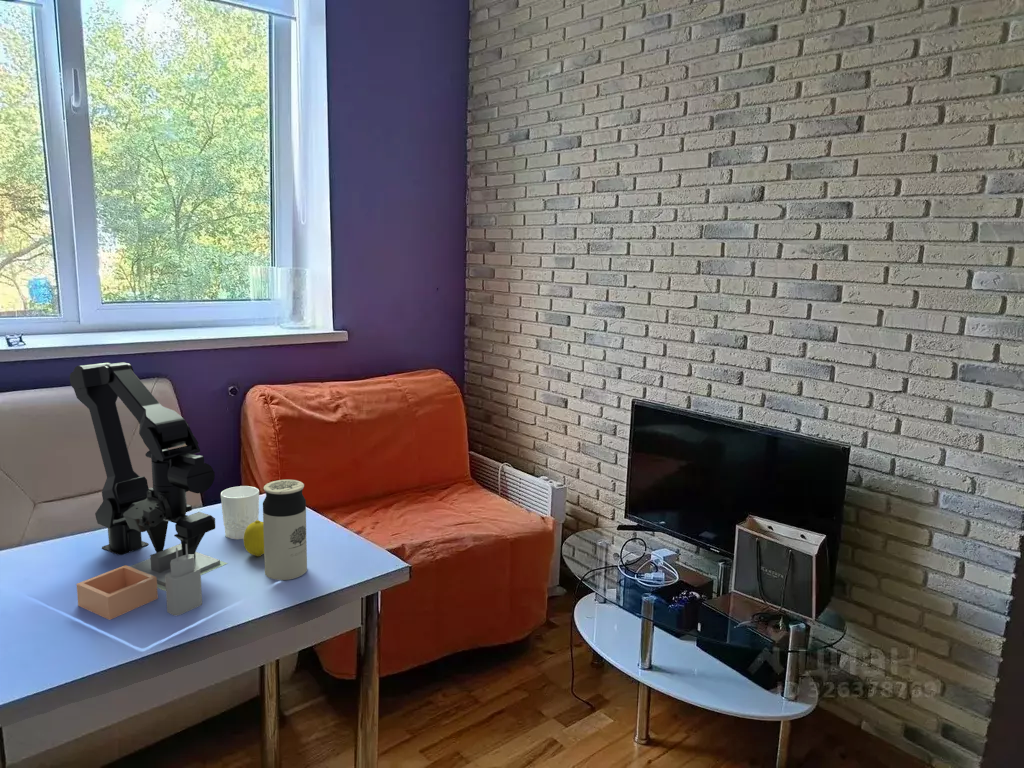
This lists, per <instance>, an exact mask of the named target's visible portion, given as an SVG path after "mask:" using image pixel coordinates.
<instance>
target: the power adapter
mask: <svg viewBox="0 0 1024 768" xmlns="http://www.w3.org/2000/svg"><path fill="white" fill-rule="evenodd" d="M170 565H171V572H170V573H167V574H166V575H165V581H166V591H165V596H166V613H168V614H170V615H172V616H175V617H178V616H182V615H183V614H185V613H187V612H190V611H191V610H194V609H197V608H199V607H201V606H202V605H203V595H202V575H201V571H200V567H197V566H195V565H194V554H188V549H187V544H186V555H183V556H181V557H178V548H177V547H176V558H175V559H173V560H171V562H170Z"/></svg>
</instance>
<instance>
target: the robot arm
mask: <svg viewBox="0 0 1024 768" xmlns="http://www.w3.org/2000/svg"><path fill="white" fill-rule="evenodd" d="M69 382H70V386H71V388H73V391H74V394H75V396H76V399H78V401H80V402H81V403H82V404H83V405H84V406H85V407H86V408H87V409H88V410H89V414H90V417H91V421H92V425H93V429H94V432H95V437H96V439H97V440H96V441H97V444H98V449H99V451H100V455H101V459H102V464H103V467H104V471H105V474H106V475H105V476H106V479H105V482H104V485H103V487H102V490H101V496H102V502H101V504H100V506H99V507H98V508H97V509H96V511H95V514H94V515H95V519H96V523H97V524H98V525H101V526H102V527H105V528H107V536H108V538H107V539H108V544H107V545H103V546H101V550H104V551H107V552H110V553H113V554H116V555H118V556H124V555H126V554H129V553H131V552H134V551H136V550H139V549H142V548H145V547H147V546H149V543H148V542H146V541H143V540H142V537H143V536H142V533H144V532H146V533H147V535H148V537H149V539H150V541H151V544H152V546H153V549H154V550H155V553H157V552H160V551H163V550H165V549H164V548H165V543H166V539H167V532H168V525H169V522H171V523H174V527H175V532H176V533H175V534H174V535H173V536H174V537H175V538H177V539H178V540H180V544H181V546H182V553H183V555H186V544H187V549H188V554H195V552H197V549H198V547H199V545H200V543H201V541H202V539H203V538H204V536H205V534H206V533H209V532H210V531H213V530H215V529H216V518H215V517H214V516H213V515H210V514H209V513H208V514H207V513H205V512H201V511H198V512H194V513H192V514H189V515H187V513H188V512H190V511H193V507H192V505H191V504H188V503H187V500H188V499H187V492H191V493H193V494H203V493H205V492H207V491H208V490H209V489H210V488H211V487H212V485H213V484H214V481H215V477H216V475H215V470H214V468H213V467H212V466H211V465H210V464H209V463H207V462H205V457H204V456H203V455H200V454H199V453H200V452H201V449H200V447H199V441H198V440H197V438H196V436H195V435H194V433H193V431H192V429H191V427H190V425H189V424H188V423H187V421H186V419H184V417H182V416H181V415H180V414H179V413H178V412H176V410H174V409H171V408H168V407H166V406H163V405H162V404H161V403H160V402H159V401H158V400H157V398H156V397H155V396H154V395H153V394H152V392H151V391H150V390H149V389H148V387H147V386H145V385H144V383H143V381H142V380H140V378H139V377H138V375H136V374H135V373H134V369H133V366H132V365H131V364H130V363H128V362H125V361H123V362H116V363H111V362H103V363H102V362H100V363H93V364H92V363H91V364H84V365H83V364H82V365H77V366H76V367H75V366H74V368H73V371H72V372H70V375H69ZM118 399H120V400H121V402H122V403H123V404H124V405H125V407H126V408H127V409H128V410H129V412H130V413H131V414H132V415H133V416H134V418H135V420H137V422H138V424H139V431H138V432H139V436H140V438H141V440H142V441H143V443H144V445H145V446H146V448H147V449H148V451H146V453H145V457H146V458H149V459H150V460H151V461H150V462H151V477H152V487H149V485H148V483H149V482H148V479H147V478H146V477H145V476H143V475H142V476H140V475H139V474H138V473H137V472H135V470H134V467H133V464H132V461H131V457H130V453H129V448H128V445H127V442H126V437H125V435H124V430H123V426H122V423H121V422H122V421H121V418H120V414H119V411H118V407H117V400H118ZM196 454H198V455H196Z"/></svg>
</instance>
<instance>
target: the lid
mask: <svg viewBox="0 0 1024 768" xmlns="http://www.w3.org/2000/svg"><path fill="white" fill-rule="evenodd" d="M176 547H177V548H178V557H181V556H183V553H182V546H181V543H179V544H176V545H173V546H170V547H167V548H165V549H163V551H160V552H157V553H156V552H155V553H153V554H150V555H149V557H150V558H148V559H144V560H142V561H140V562H137V563H135V564H132V565H130V566H129V565H128V566H129V567H132V568H134V569H137V570H139V571H142V572H145V573H147V574H150V575H152V576H155V577H157V584H159V585H162V586H165V587H166V581H165V575H166V574H167V573H170V572H171V565H170V562H171V560H173V559H175V558H176ZM220 561H221V560H220V559H217V558H215V557H212V556H209V555H206V554H203V553H201V552H197V551H196V552H195V554H194V565H195V566H197V567H200V571H201V572H203V571H205V570H207V569H210V568H212V567H214V566H217V565H219V564H220Z"/></svg>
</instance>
